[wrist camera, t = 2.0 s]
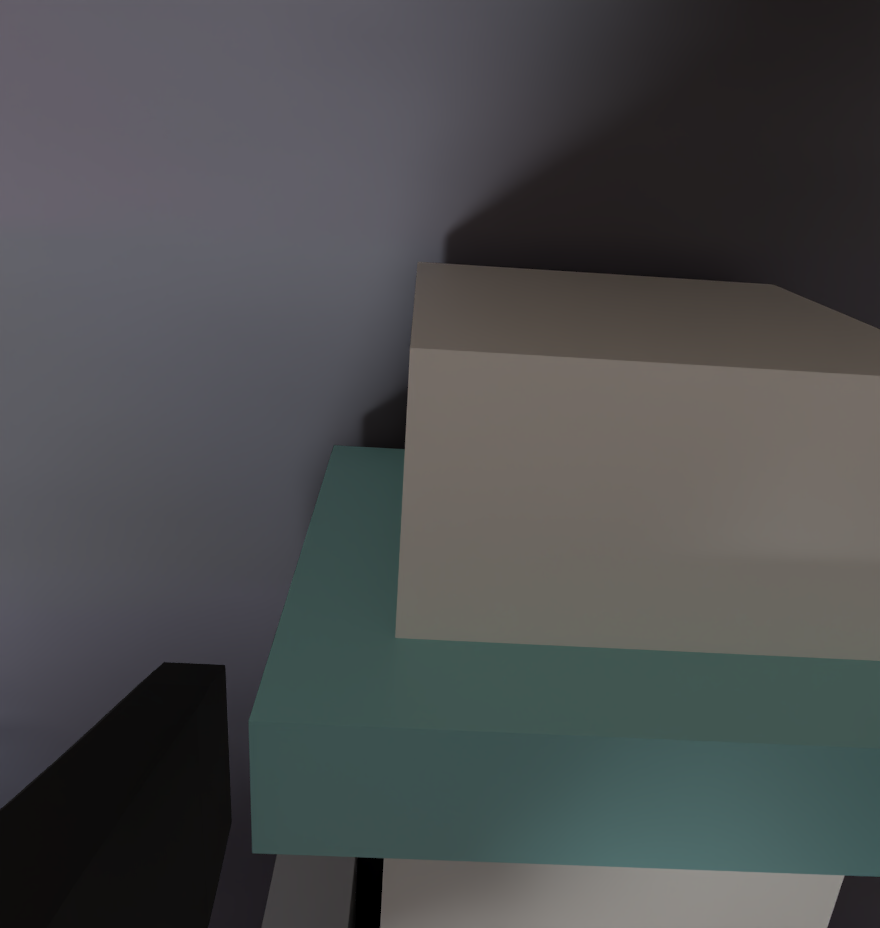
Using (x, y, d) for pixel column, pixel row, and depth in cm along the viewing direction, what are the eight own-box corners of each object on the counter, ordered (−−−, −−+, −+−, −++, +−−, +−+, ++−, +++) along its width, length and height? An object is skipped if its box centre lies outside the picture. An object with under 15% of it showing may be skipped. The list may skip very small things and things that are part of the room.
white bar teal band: (323, 1054, 12) (270, 1514, 8) (337, 257, 8) (239, 382, 4) (657, 1063, 13) (770, 1517, 9) (850, 289, 8) (1283, 444, 4)
